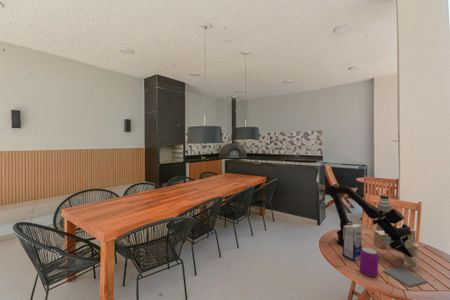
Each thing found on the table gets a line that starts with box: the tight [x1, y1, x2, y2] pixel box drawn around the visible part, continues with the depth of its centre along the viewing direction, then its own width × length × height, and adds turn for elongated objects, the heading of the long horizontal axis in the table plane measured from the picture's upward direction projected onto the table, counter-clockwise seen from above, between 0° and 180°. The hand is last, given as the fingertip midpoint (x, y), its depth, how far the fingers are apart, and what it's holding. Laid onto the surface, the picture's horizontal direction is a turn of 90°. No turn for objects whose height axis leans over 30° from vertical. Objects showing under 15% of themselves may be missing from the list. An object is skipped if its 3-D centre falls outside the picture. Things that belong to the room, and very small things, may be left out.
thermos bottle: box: [376, 195, 392, 231], centre depth 152 cm, size 8×8×28 cm
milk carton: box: [342, 223, 363, 262], centre depth 122 cm, size 7×7×20 cm
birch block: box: [403, 240, 419, 271], centre depth 113 cm, size 5×5×13 cm
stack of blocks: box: [373, 225, 416, 250], centre depth 134 cm, size 21×6×12 cm, turn 88°
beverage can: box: [359, 246, 379, 277], centre depth 107 cm, size 8×8×12 cm
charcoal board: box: [382, 266, 428, 288], centre depth 104 cm, size 12×12×1 cm
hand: (412, 253), depth 112 cm, fingers open, 9 cm apart
